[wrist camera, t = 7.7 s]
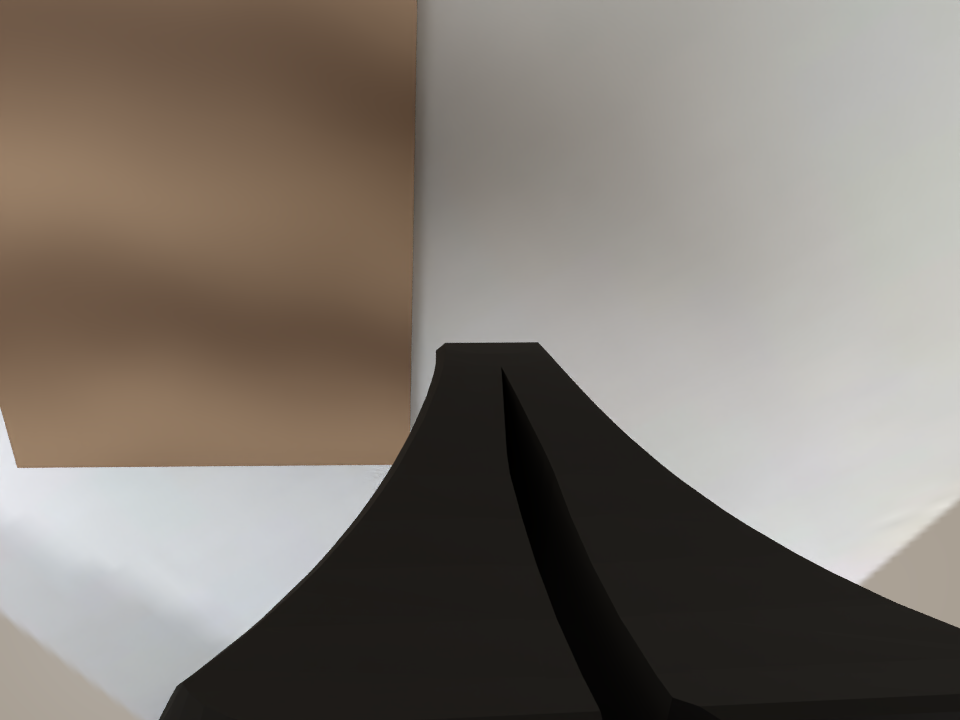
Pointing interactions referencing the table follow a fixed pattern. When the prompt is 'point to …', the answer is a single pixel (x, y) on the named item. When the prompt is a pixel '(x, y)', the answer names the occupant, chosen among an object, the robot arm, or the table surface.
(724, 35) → the table surface
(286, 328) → the deck
